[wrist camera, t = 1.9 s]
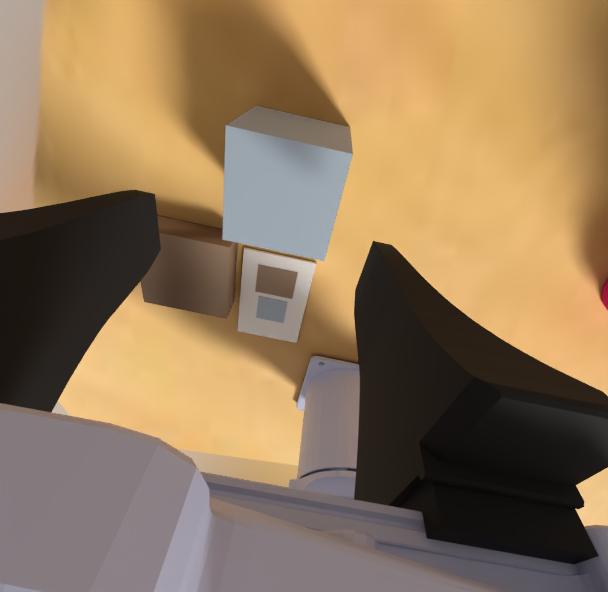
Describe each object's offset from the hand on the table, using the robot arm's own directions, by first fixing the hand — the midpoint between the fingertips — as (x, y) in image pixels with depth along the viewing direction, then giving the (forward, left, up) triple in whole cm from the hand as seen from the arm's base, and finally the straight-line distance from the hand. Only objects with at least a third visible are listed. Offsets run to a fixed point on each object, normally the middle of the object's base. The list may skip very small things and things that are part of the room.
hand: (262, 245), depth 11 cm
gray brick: (0, 0, -10) cm, 10 cm away
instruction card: (0, +10, -9) cm, 14 cm away
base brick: (+6, +8, -9) cm, 14 cm away
